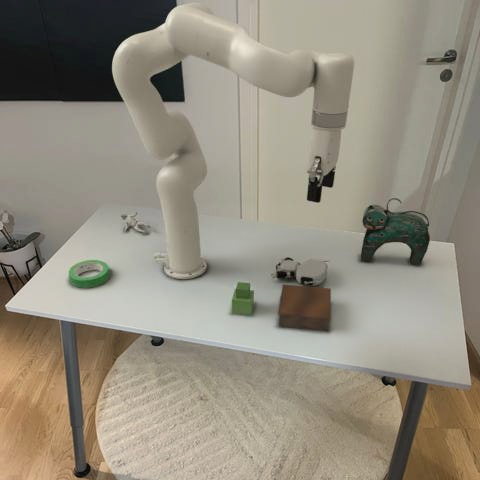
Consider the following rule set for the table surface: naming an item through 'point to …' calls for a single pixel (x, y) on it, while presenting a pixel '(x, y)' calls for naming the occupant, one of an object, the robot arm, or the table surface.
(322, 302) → the walnut plinth
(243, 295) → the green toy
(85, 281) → the tape roll
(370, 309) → the table surface
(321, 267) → the robot toy
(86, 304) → the table surface
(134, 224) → the soldier figure
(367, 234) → the ceramic cat
